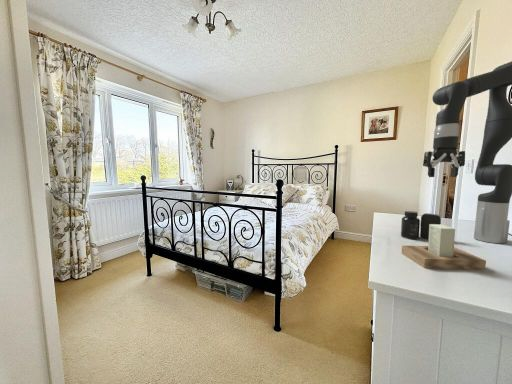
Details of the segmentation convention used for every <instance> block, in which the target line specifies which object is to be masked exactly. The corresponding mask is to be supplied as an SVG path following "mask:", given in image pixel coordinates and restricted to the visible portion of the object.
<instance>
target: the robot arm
mask: <svg viewBox="0 0 512 384" xmlns="http://www.w3.org/2000/svg"><path fill="white" fill-rule="evenodd" d="M509 86H512V60H511V61H509V62H506V63H504V64H502V65H499V66H497V67H495V68H494V69H493V70H491V71H488V72H486V73H482V74H478V75H475V76H472V77H468V78H466V79H464V80H461V81H456V82H452V83H450V84H447V85H444V86H442V87H440V88H438V89H436V91H434V93H433V95H432V99H431V100H432V102H433V103H434V104H435V105H436V106H446V107H445V108H444V109H441V110H440V111H438V112H437V114H436V117H435V126H434V131H433V143H432V145H433V146H432V148H433V151H431V150H430V151H425V152H424V153H423V155H424V156H423V162H422V166H423V167H427V176H428V177H429V178H435V173H436V168H435V167H436V166H437V165H439V164H440V163H447V164H449V165H450V166H451V168H450V177H451V178H456V177H458V175H459V169H460V167H464V166H465V165H466V151H465V150H460V151H459V150H458V151H457V149H458V147H459V139H460V138H459V137H460V118H461V116H460V115H461V111H462V110H463V108H464V105H465V102H466V101H467V98H469V97H472V96H473V97H474V96H476V95H478V94H481V93H485V92H486V91H488V94H489V95H488V105H487V106H488V107H487V113H486V119H485V125H484V129H483V130H484V131H483V137H482V138H483V139H482V144H481V150H480V154H479V157H478V161H477V164H476V168H475V170H474V171H475V172H474V181H475V183H476V184H477V185H479V186H488V187H489V186H490V187H494V189H493V190H491V191H489V192H486V193H485V192H484V193H480V194H479V195H478V196H477V205H476V213H475V222H474V223H475V224H474V231H473V232H474V233H473V239H475V240H478V241H481V242H486V243H493V244H504V243H508V238H509V237H508V236H509V230H510V220H509V218H508V217H509V209H510V200H511V197H512V164H508V163H507V164H501V163H499V164H498V163H496V164H495V163H494V162H495V159H496V157H497V155H498V153H499V152H500V150H501V149H502V148H503V147H504V146H505V145H507V143H508V142H509V141H510V140H511V139H512V104H511V103H510V102H509V100H508V95H507V92H508V91H507V90H508V87H509ZM432 157H433V158H432Z"/></svg>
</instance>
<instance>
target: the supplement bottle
mask: <svg viewBox="0 0 512 384" xmlns="http://www.w3.org/2000/svg"><path fill="white" fill-rule="evenodd" d="M418 213H419V212H418V211H414V210H413V211H412V210H404V214H403V215H404V216H403V217H402V218H401V227H400V237H402V238H403V239H409V240H418V239H419V238H420V224H421V219H420V218H418V216H419V215H418Z"/></svg>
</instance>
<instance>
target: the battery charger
mask: <svg viewBox="0 0 512 384" xmlns="http://www.w3.org/2000/svg"><path fill="white" fill-rule="evenodd" d="M429 224H442V217H441V215H439V214H436V213H427V212H425V213H423V214H421V217H420V228H419V238H421V239H422V238H423V239H428V240H429Z"/></svg>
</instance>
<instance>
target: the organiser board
mask: <svg viewBox="0 0 512 384" xmlns="http://www.w3.org/2000/svg"><path fill="white" fill-rule="evenodd" d="M401 254H402V255H403V256H405V257H406V258H408V259H410V260H411V261H413V263H416V265H417V264H418V265H419V266H421V267H422V268H423V269H448V270H449V269H452V270H477V271H480V270H481V271H485V270H486V265H487V260H486V259H483V258H481V257H479V256H476V255H474V254H471V253H470V252H467V251H465V250H462V249H460V248H458V247H455V246H454V255H453V257H439V256H437V255H436V254H434V253H432V252H430V251H428V245H401Z"/></svg>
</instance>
